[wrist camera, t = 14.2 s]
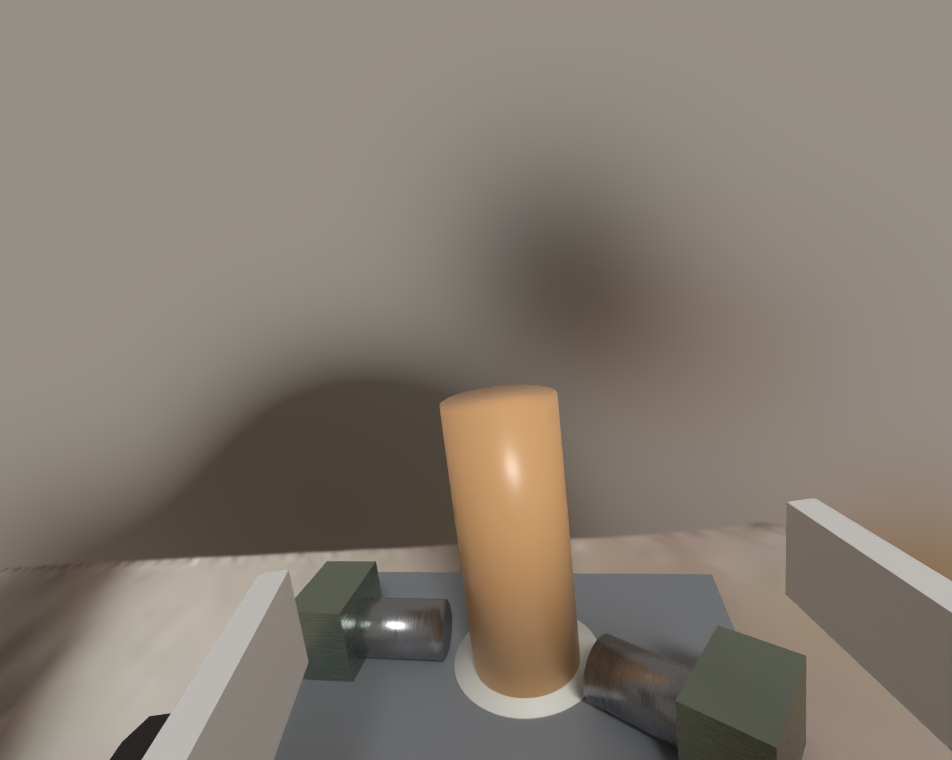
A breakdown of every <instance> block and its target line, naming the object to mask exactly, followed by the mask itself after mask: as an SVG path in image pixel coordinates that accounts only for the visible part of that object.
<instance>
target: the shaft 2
mask: <svg viewBox="0 0 952 760" xmlns="http://www.w3.org/2000/svg"><path fill="white" fill-rule="evenodd" d="M583 689H584V694H585V697H586V699H587V700H588V701H589V702H590V703H592V704H594V705H596V706H598V707H600V708H602V709H604V710H606V711H607V712H609V713H611V714H613V715H615V716H617V717H619V718H621V719H623V720H624V721H626V722H628V723H630V724H632V725H634V726H636V727H638V728H640V729H642V730H643V731H645V732H647V733H649V734H651V735H653V736H655V737H657V738H659V739H660V740H662V741H664V742H666V743H668V744H670V745H672V746H674V747H676V748H678V758H679V760H802V756H803V752H804V749H805V745H806V656H805V655H802V654H799V653H796V652H793V651H790V650H788V649H785V648H782V647H779V646H776V645H773V644H770V643H767V642H765V641H762V640H759V639H756V638H753V637H750V636H747V635H744V634H742V633H739V632H736V631H733V630H730V629H727V628H724V627H721V626H718V625H717V627H716V629H715V631H714V632H713V634H712V636H711V638H710V640H709V641H708V643H707V645H706V647H705V648H704V650H703V652H702V654H701V656H700V657H699V659H698V661H697V663H696V664H695V666H694V668H690V667H688V666H685V665H683V664H681V663H678V662H676V661H673V660H671V659H668V658H666V657H664V656H661V655H659V654H656V653H654V652H652V651H649V650H647V649H644V648H642V647H640V646H637V645H635V644H632V643H630V642H627V641H625V640H623V639H620V638H618V637H615V636H613V635H611V634H608V633H605V634H603V635H601V636H600V637H599V638H598V639H597V641H596V642H595V643H594V645H593V647H592V649H591V651H590V653H589V656H588V659H587V662H586V666H585V671H584V679H583Z"/></svg>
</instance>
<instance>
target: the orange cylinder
mask: <svg viewBox="0 0 952 760" xmlns="http://www.w3.org/2000/svg"><path fill="white" fill-rule="evenodd" d="M440 411H441V419H442V426H443V435H444V442H445V450H446V456H447V464H448V472H449V479H450V487H451V494H452V502H453V509H454V517H455V525H456V532H457V539H458V548H459V555H460V563H461V570H462V578H463V585H464V593H465V600H466V608H467V615H468V623H469V631H470V638H471V646H472V653H473V661H474V668H475V671H476V673H477V675H478V677H479V678H480V680H481V681H482V682H483V683H484V684H485V685H486V686H487V687H489V688H490V689H492V690H493V691H495V692H497V693H500V694H502V695H505V696H509V697H515V698H535V697H541V696H545V695H548V694H551V693H553V692H555V691H557V690H559V689H561V688H562V687H564V686H565V685H566V684H568V683H569V682H570V681H571V680H572V678H573V677H574V676H575V674H576V672H577V670H578V668H579V665H580V647H579V635H578V624H577V613H576V601H575V590H574V579H573V567H572V556H571V545H570V533H569V522H568V510H567V499H566V488H565V477H564V465H563V455H562V442H561V431H560V420H559V409H558V397H557V392H556V391H555V390H554V389H552V388H548V387H543V386H536V385H510V386H509V385H508V386H496V387H489V388H482V389H477V390H472V391H467V392H464V393H461V394H457V395H454V396H451V397H449V398H447V399H445V400H444V401H442V402H441V403H440Z"/></svg>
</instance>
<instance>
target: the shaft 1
mask: <svg viewBox="0 0 952 760" xmlns="http://www.w3.org/2000/svg"><path fill="white" fill-rule="evenodd" d="M295 602H296V606H297V611H298V616H299V620H300V625H301V629H302V634H303V639H304V643H305V648H306V652H307V657H308V665H307V668H306V670H305V673H304V676H303V679H306V680H322V681H339V682H354V680H355V678H356V676H357V675H358V673H359V671H360V669H361V667H362V666H363V664H364V662H365V660H366V658H367V657H377V658H398V659H419V660H439V661H443V660H445V659H446V657H447V655H448V652H449V649H450V644H451V638H452V612H451V606H450V603H449V601H448V600H447V599H427V598H382V593H381V587H380V582H379V576H378V571H377V565H376V562H351V561H327V562H326V563H325V564H324V566H323V567H322V568H321V569H320V570H319V571H318V572H317V574H316V575H315V576H314V577H313V578H312V579H311V581H310V582H309V583H308V584H307V585H306V586H305V588H304V589H303V590H302V591H301V592H300V593H299V595H298V596H297V597H296V598H295Z"/></svg>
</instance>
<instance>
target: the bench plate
mask: <svg viewBox="0 0 952 760" xmlns="http://www.w3.org/2000/svg"><path fill="white" fill-rule="evenodd" d="M378 576H379V582H380V587H381V593H382V598H427V599H447V600H448V601H449V603H450V606H451V612H452V638H451V644H450V649H449V652H448V655H447V657H446V659H445V660H443V661H439V660H419V659H398V658H377V657H367V658H366V660H365V662H364V664H363V666H362V667H361V669H360V671H359V673H358V675H357V676H356V678H355V680H354V682H339V681H322V680H306V679H302V682H301V684H300V687H299V690H298V693H297V696H296V698H295V701H294V704H293V707H292V710H291V712H290V715H289V718H288V721H287V724H286V726H285V729H284V732H283V735H282V737H281V740H280V743H279V746H278V749H277V751H276V754H275V757H274V760H679V758H678V748H676V747H674V746H672V745H670V744H668V743H666V742H664V741H662V740H660V739H659V738H657V737H655V736H653V735H651V734H649V733H647V732H645V731H643V730H642V729H640V728H638V727H636V726H634V725H632V724H630V723H628V722H626V721H624V720H623V719H621V718H619V717H617V716H615V715H613V714H611V713H609V712H607V711H606V710H604V709H602V708H600V707H598V706H596V705H594V704H592V703H590V702H589V701H588V700H587V699H586V697H585V694H584V689H583V679H584V671H585V666H586V662H587V659H588V656H589V653H590V651H591V649H592V647H593V645H594V643H595V642H596V641H597V639H598V638H599V637H600V636H601V635H603V634H605V633H608V634H611V635H613V636H615V637H618V638H620V639H623V640H625V641H627V642H630V643H632V644H635V645H637V646H640V647H642V648H644V649H647V650H649V651H652V652H654V653H656V654H659V655H661V656H664V657H666V658H668V659H671V660H673V661H676V662H678V663H681V664H683V665H685V666H688V667H690V668H694V666H695V664H696V663H697V661H698V659H699V657H700V656H701V654H702V652H703V650H704V648H705V647H706V645H707V643H708V641H709V640H710V638H711V636H712V634H713V632H714V631H715V629H716V627H717V625H718V626H721V627H724V628H727V629H730V630H733V631H734V628H733V626H732V623H731V621H730V618H729V616H728V613H727V611H726V608H725V606H724V604H723V601H722V599H721V596H720V594H719V591H718V589H717V586H716V584H715V581H714V579H713V576H712V575H695V574H573V579H574V590H575V601H576V613H577V624H578V635H579V647H580V665H579V668H578V670H577V672H576V674H575V676H574V677H573V678H572V680H571V681H570V682H569V683H568V684H566V685H565V686H564V687H562V688H561V689H559V690H557V691H555V692H553V693H551V694H548V695H545V696H541V697H535V698H515V697H509V696H505V695H502V694H500V693H497V692H495V691H493V690H492V689H490V688H489V687H487V686H486V685H485V684H484V683H483V682H482V681H481V680H480V678H479V677H478V675H477V673H476V671H475V668H474V661H473V653H472V646H471V638H470V631H469V623H468V615H467V608H466V600H465V593H464V585H463V578H462V573H420V572H378Z"/></svg>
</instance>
